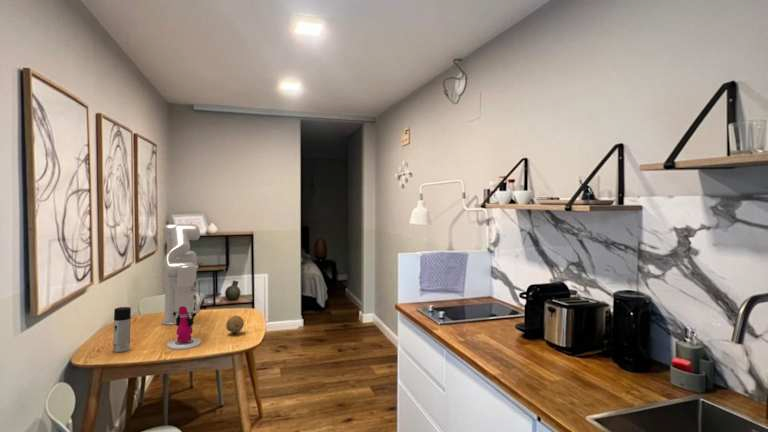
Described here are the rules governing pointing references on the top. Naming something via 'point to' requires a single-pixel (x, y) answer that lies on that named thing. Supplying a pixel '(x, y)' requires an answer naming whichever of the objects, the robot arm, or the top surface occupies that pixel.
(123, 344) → the spray can
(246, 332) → the top surface
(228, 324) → the natural sponge
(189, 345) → the mount plate
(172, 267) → the robot arm
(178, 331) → the pepper mill
